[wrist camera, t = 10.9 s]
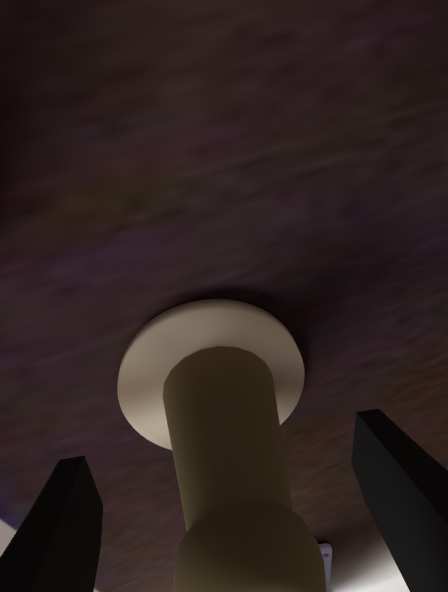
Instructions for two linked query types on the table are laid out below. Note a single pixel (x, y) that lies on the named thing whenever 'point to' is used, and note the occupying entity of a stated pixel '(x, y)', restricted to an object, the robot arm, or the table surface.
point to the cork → (234, 480)
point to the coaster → (196, 336)
